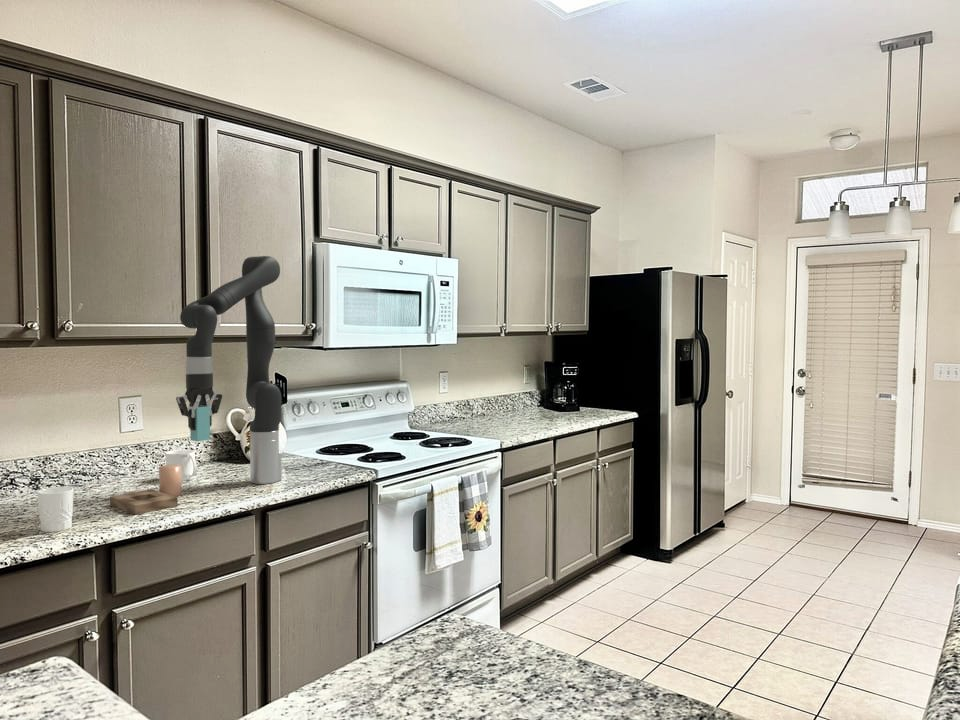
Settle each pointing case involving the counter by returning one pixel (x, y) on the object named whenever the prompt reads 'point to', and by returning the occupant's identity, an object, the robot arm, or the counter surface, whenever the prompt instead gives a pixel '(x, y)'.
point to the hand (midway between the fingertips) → (200, 428)
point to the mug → (183, 462)
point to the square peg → (201, 424)
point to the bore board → (143, 501)
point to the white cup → (55, 508)
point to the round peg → (170, 480)
